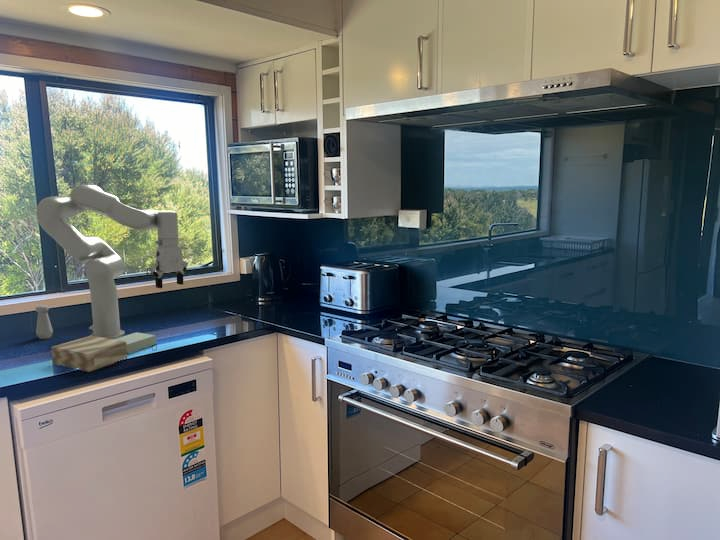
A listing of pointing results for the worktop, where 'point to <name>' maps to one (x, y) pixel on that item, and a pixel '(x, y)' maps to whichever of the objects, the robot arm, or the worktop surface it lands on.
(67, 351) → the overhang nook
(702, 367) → the worktop surface
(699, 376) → the worktop surface
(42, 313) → the salt shaker
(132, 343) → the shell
